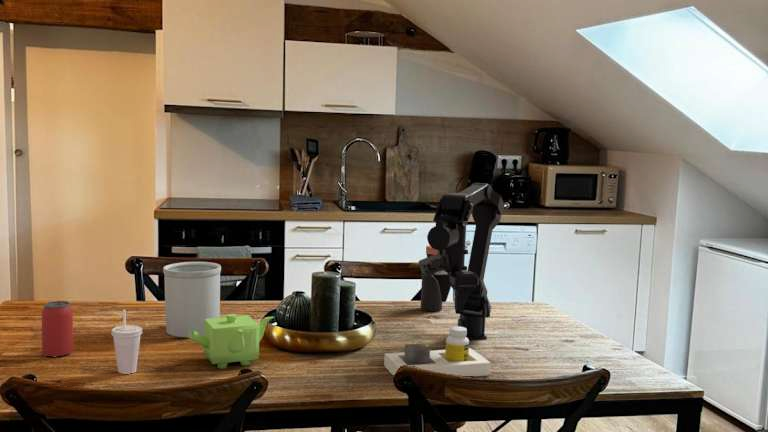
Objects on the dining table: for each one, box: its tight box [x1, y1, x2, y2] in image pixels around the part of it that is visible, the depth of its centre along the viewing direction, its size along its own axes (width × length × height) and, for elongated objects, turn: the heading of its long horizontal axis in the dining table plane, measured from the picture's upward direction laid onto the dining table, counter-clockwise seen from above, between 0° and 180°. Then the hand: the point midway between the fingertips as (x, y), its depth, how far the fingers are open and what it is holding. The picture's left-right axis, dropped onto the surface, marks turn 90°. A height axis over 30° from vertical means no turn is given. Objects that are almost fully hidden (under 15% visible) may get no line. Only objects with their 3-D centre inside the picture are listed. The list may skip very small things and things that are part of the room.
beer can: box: [41, 300, 74, 357], centre depth 162 cm, size 7×7×12 cm
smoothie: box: [111, 308, 143, 375], centre depth 152 cm, size 6×6×14 cm
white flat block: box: [383, 347, 492, 377], centre depth 161 cm, size 22×11×3 cm, turn 108°
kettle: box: [188, 313, 275, 369], centre depth 161 cm, size 15×14×11 cm
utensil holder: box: [162, 261, 222, 338], centre depth 185 cm, size 15×15×18 cm
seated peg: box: [404, 343, 431, 365], centre depth 159 cm, size 4×4×6 cm
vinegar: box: [420, 244, 443, 313], centre depth 217 cm, size 7×7×20 cm
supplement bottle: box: [444, 325, 470, 362], centre depth 162 cm, size 5×5×10 cm
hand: (450, 306), depth 173 cm, fingers open, 9 cm apart
